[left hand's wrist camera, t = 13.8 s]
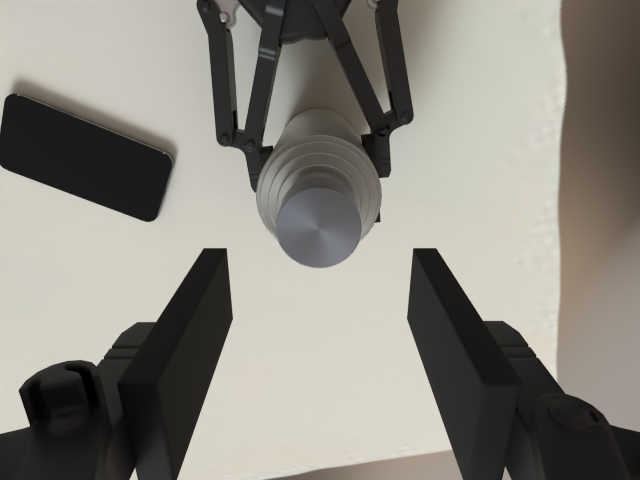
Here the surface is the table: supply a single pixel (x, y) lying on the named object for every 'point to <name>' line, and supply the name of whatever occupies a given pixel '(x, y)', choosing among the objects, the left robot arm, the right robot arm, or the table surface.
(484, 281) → the table surface
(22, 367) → the table surface
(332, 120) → the bottle
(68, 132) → the smartphone
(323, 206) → the cap
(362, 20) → the table surface
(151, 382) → the left robot arm
